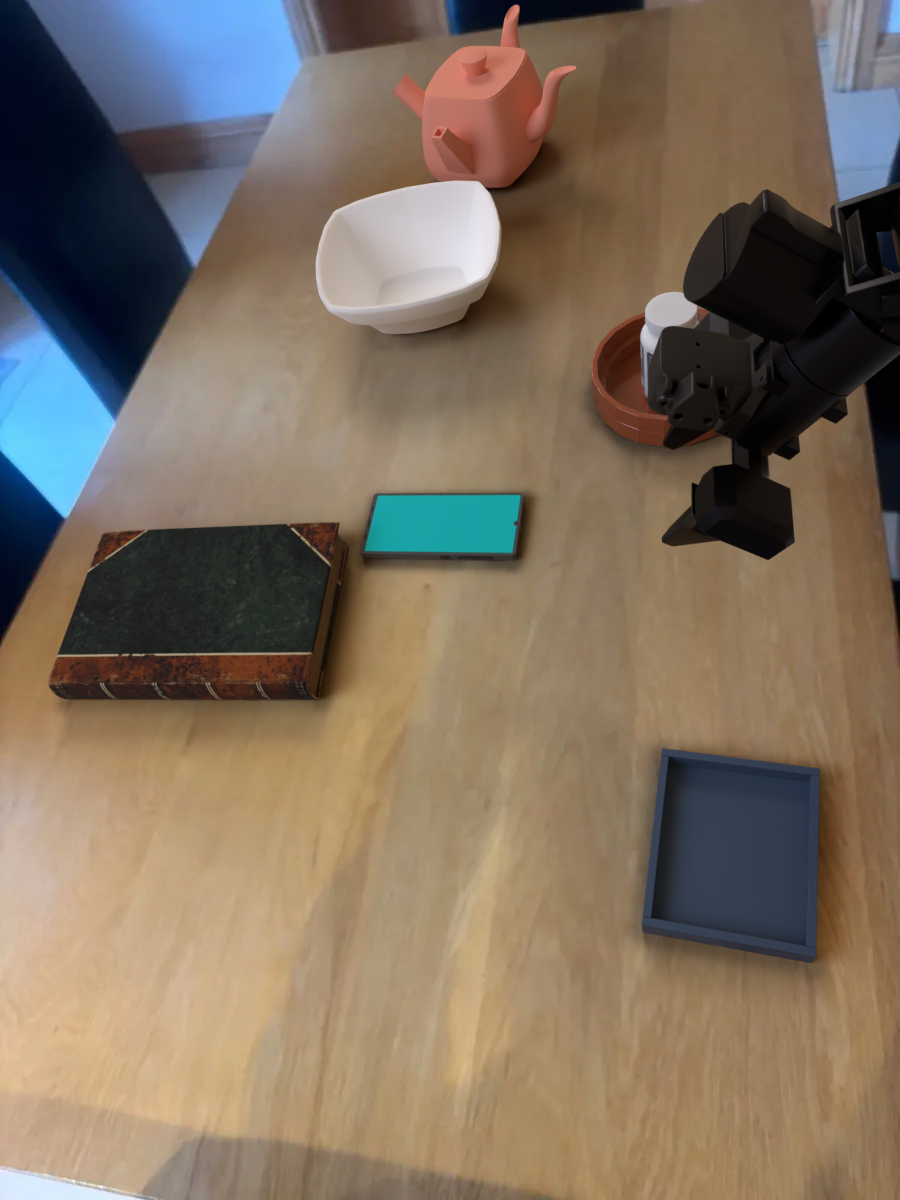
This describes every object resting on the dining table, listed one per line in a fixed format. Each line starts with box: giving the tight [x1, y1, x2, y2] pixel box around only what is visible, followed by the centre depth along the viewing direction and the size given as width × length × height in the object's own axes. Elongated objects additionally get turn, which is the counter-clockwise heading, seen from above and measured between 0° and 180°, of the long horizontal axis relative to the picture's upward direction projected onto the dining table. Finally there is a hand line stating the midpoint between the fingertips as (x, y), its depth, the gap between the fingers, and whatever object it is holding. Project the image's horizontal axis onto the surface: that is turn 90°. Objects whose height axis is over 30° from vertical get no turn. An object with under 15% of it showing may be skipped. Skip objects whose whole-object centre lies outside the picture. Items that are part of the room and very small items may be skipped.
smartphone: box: [359, 492, 526, 561], centre depth 87 cm, size 7×1×15 cm
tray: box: [641, 747, 821, 964], centre depth 65 cm, size 13×11×2 cm
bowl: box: [315, 181, 502, 335], centre depth 102 cm, size 21×21×9 cm
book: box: [47, 521, 349, 701], centre depth 85 cm, size 17×4×25 cm
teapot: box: [392, 4, 577, 189], centre depth 113 cm, size 18×18×14 cm
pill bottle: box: [640, 291, 699, 398], centre depth 87 cm, size 6×6×10 cm
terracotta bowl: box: [590, 307, 719, 448], centre depth 89 cm, size 15×15×4 cm
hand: (667, 492), depth 68 cm, fingers open, 9 cm apart
